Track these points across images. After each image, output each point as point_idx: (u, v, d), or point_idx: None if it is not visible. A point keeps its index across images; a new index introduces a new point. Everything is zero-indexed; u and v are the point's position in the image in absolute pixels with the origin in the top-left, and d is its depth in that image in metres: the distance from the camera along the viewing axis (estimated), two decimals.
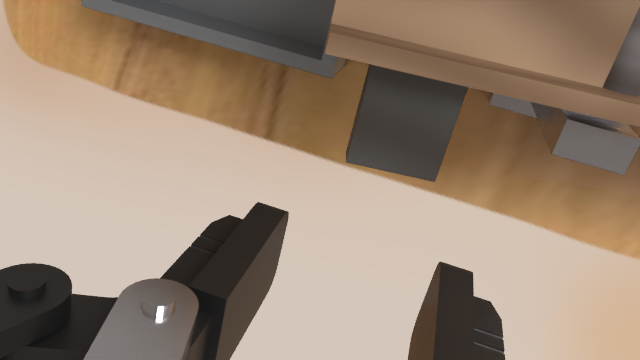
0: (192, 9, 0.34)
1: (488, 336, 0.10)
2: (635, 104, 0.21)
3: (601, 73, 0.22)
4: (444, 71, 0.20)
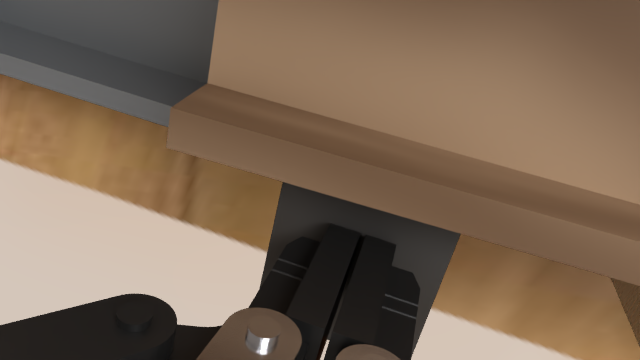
0: (58, 36, 0.23)
1: (403, 303, 0.11)
2: None
3: None
4: (403, 198, 0.10)
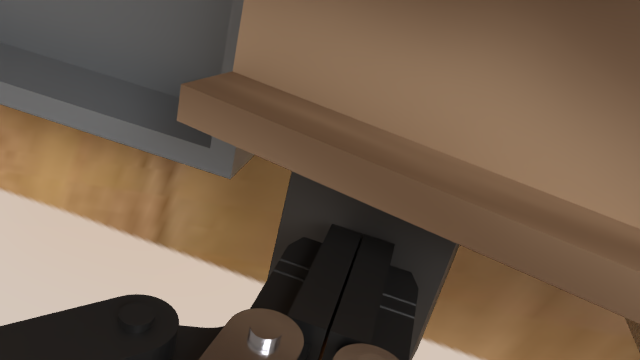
0: (18, 45, 0.21)
1: (401, 303, 0.11)
2: None
3: None
4: (373, 187, 0.10)
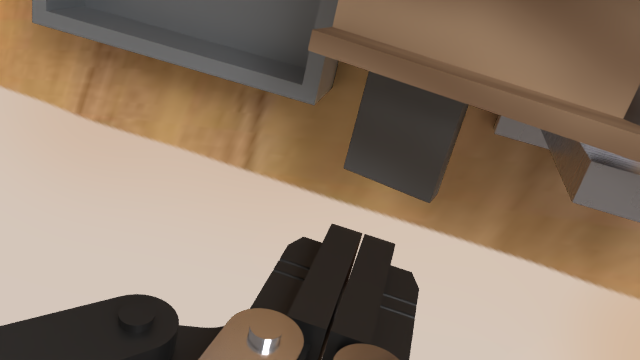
0: (159, 25, 0.31)
1: (402, 303, 0.11)
2: None
3: (621, 101, 0.19)
4: (417, 76, 0.20)
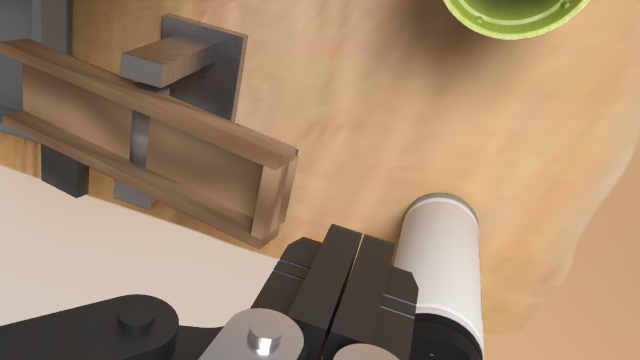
0: None
1: (402, 303, 0.11)
2: (116, 169, 0.39)
3: (126, 152, 0.41)
4: (42, 139, 0.42)
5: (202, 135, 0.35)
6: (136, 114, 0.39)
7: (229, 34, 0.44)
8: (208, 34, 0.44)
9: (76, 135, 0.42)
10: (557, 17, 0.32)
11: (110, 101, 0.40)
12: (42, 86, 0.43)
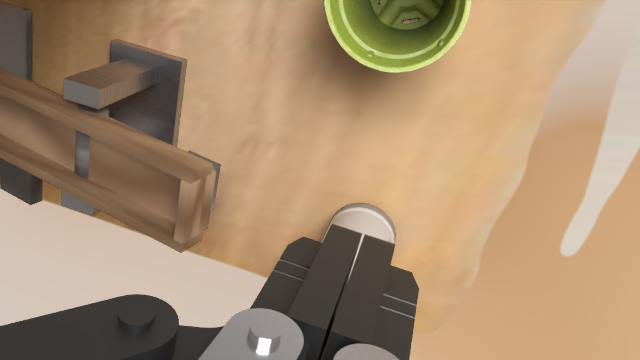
0: None
1: (402, 303, 0.11)
2: (61, 180, 0.44)
3: (72, 164, 0.46)
4: None
5: (130, 152, 0.40)
6: (78, 131, 0.44)
7: (169, 59, 0.49)
8: (151, 58, 0.49)
9: (29, 149, 0.47)
10: (432, 54, 0.37)
11: (56, 119, 0.45)
12: None
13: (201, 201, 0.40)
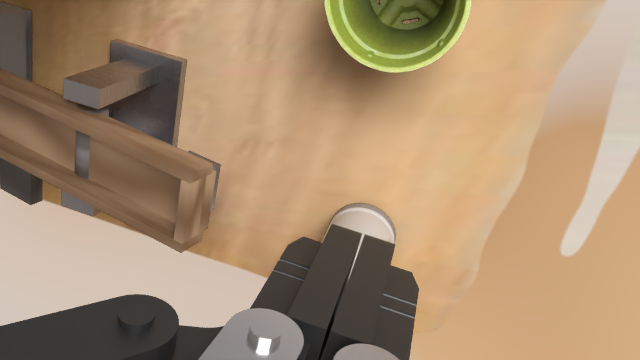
0: None
1: (402, 303, 0.11)
2: (61, 180, 0.44)
3: (72, 164, 0.46)
4: None
5: (130, 152, 0.40)
6: (78, 131, 0.44)
7: (169, 59, 0.49)
8: (151, 58, 0.49)
9: (29, 149, 0.47)
10: (432, 54, 0.37)
11: (56, 119, 0.45)
12: None
13: (201, 201, 0.40)
